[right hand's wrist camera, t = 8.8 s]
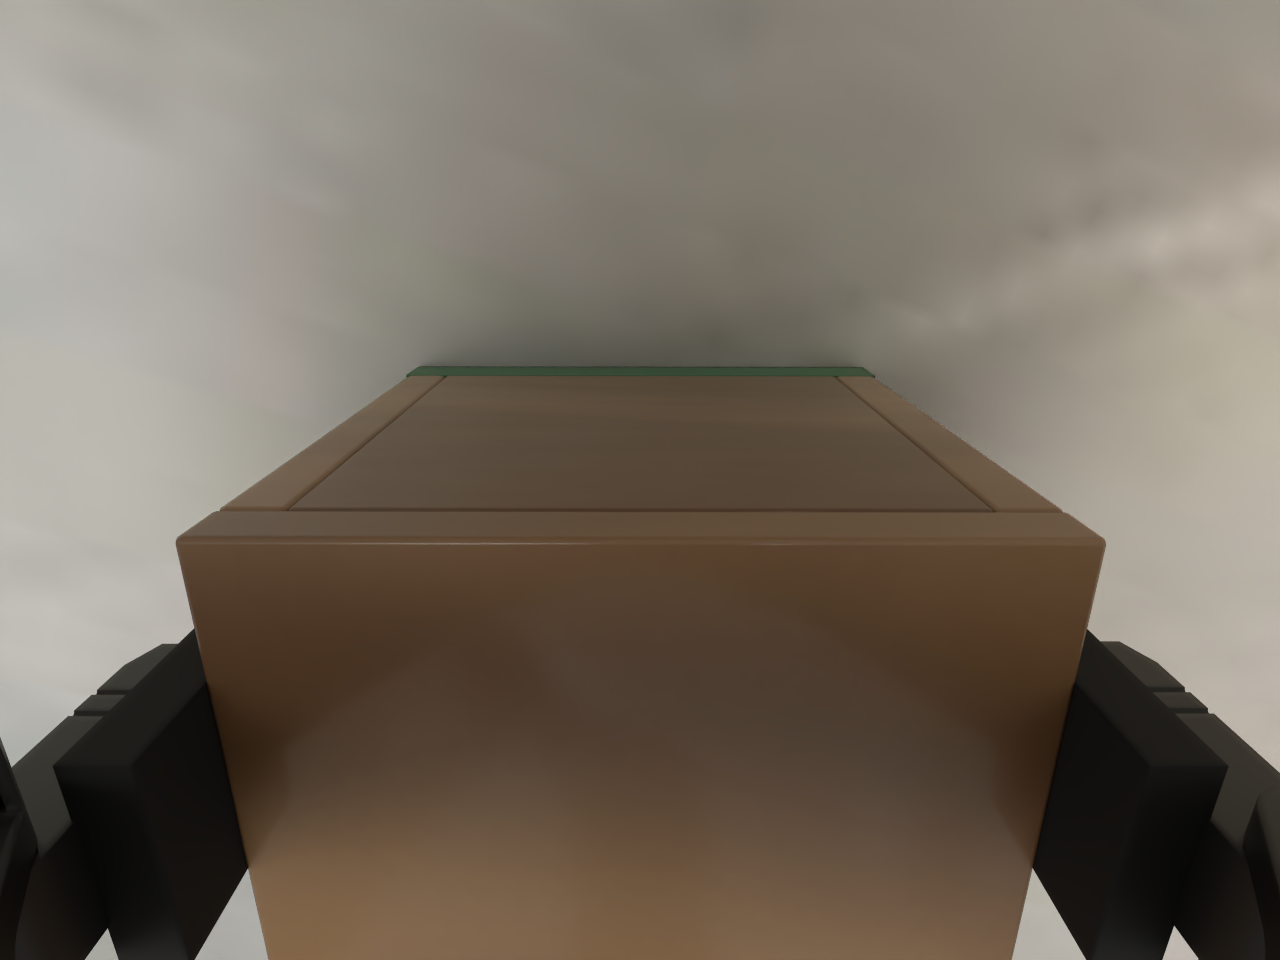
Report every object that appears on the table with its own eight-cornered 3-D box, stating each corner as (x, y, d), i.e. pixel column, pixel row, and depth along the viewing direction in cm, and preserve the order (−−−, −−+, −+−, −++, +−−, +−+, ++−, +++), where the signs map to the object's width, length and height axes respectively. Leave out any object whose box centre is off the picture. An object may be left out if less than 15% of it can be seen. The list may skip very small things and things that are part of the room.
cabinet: (795, 1030, 23) (887, 1513, 15) (482, 1030, 23) (390, 1512, 15) (862, 367, 16) (1111, 538, 8) (418, 366, 16) (169, 536, 8)
